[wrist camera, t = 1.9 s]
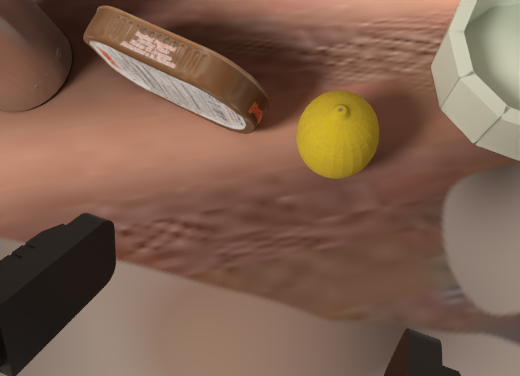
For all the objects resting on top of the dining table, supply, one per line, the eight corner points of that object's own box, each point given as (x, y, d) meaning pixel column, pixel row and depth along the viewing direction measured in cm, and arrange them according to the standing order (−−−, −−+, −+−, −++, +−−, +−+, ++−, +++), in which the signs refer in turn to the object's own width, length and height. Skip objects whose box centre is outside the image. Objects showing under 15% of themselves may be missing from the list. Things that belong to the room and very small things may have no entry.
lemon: (351, 113, 33) (363, 55, 26) (383, 174, 32) (405, 131, 24) (287, 140, 33) (279, 90, 26) (315, 202, 32) (316, 168, 24)
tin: (277, 120, 34) (266, 62, 26) (258, 153, 33) (241, 104, 25) (130, 52, 37) (80, -17, 29) (111, 81, 37) (54, 18, 29)
